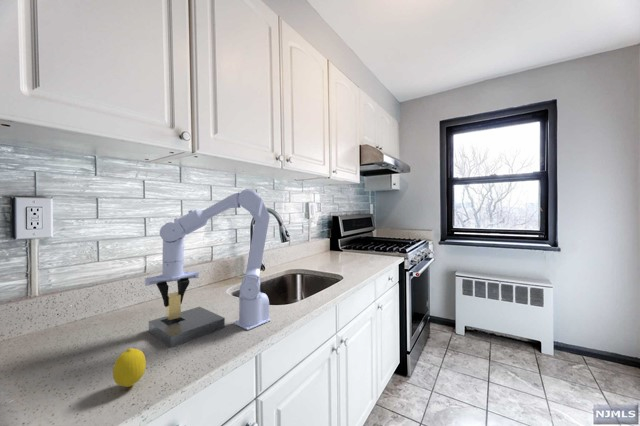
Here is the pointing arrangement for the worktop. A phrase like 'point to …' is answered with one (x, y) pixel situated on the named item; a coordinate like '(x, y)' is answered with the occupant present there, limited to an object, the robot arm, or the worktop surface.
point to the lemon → (129, 367)
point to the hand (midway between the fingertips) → (172, 304)
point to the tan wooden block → (173, 306)
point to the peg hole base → (186, 326)
